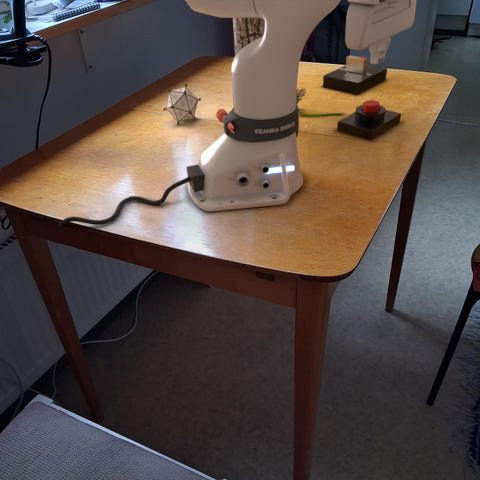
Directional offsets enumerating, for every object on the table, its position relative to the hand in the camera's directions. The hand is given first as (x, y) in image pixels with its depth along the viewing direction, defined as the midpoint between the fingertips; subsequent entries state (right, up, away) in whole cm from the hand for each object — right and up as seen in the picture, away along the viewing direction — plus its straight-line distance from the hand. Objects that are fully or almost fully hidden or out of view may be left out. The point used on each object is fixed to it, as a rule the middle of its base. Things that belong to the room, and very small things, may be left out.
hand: (377, 62), depth 101 cm
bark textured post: (-26, -8, +14) cm, 30 cm away
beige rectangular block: (+2, +13, +28) cm, 31 cm away
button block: (+1, -10, +9) cm, 14 cm away
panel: (+2, +11, +31) cm, 32 cm away
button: (0, -7, +7) cm, 10 cm away
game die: (-43, -5, +19) cm, 47 cm away
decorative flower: (-12, -3, +18) cm, 22 cm away
